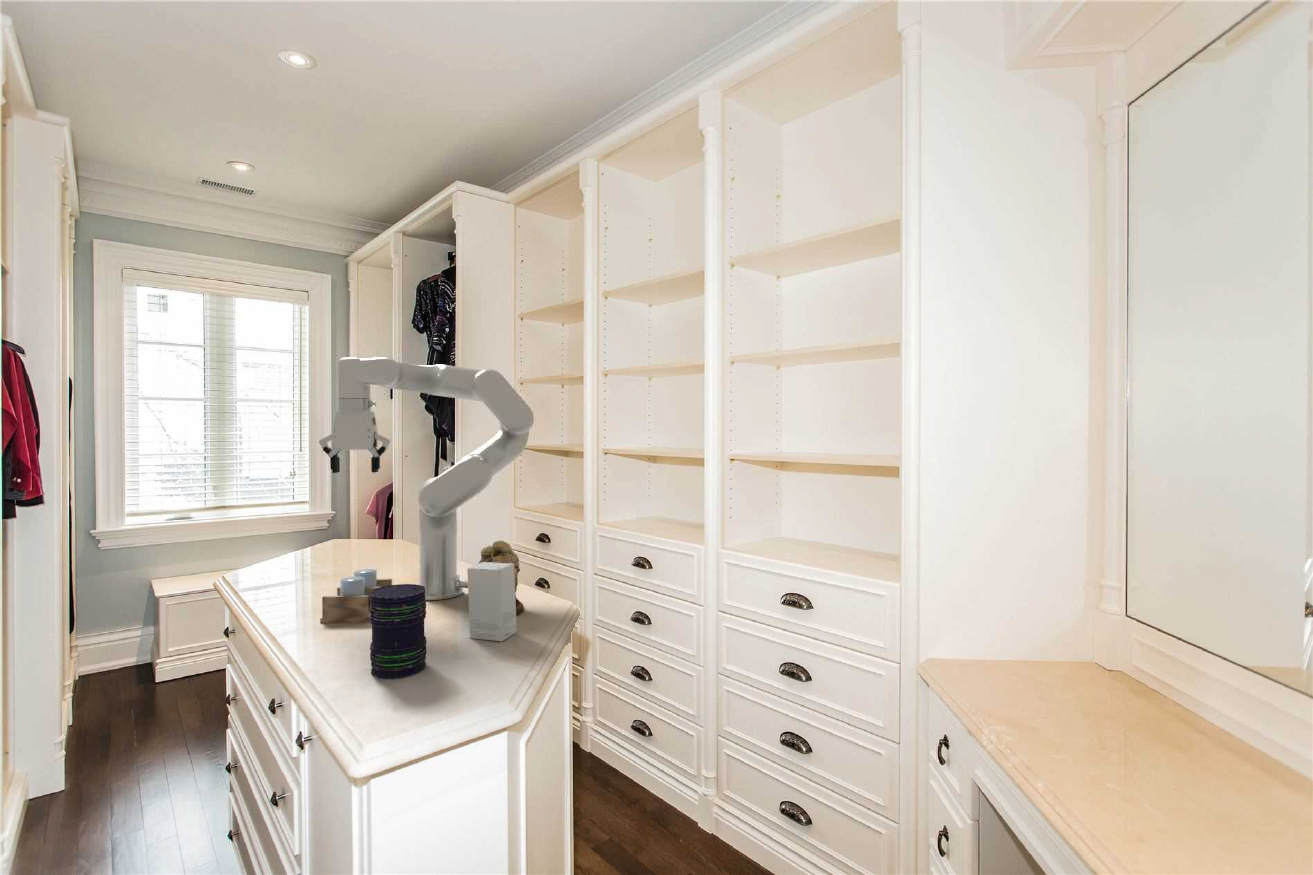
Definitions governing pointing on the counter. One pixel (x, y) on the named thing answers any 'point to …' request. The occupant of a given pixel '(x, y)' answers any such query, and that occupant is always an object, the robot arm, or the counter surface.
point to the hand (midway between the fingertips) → (355, 472)
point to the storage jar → (397, 631)
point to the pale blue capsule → (368, 576)
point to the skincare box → (492, 601)
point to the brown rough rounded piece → (503, 554)
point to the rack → (349, 605)
